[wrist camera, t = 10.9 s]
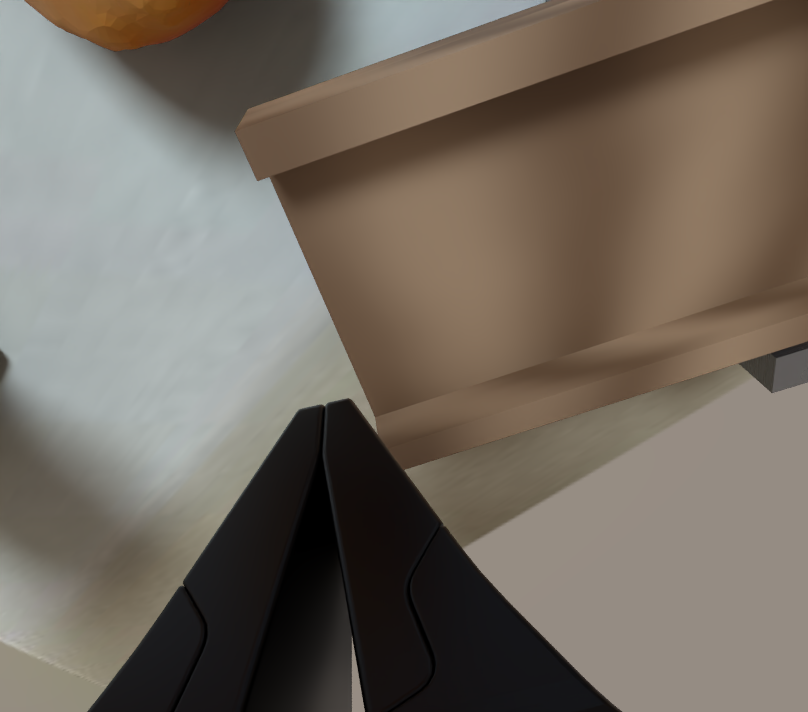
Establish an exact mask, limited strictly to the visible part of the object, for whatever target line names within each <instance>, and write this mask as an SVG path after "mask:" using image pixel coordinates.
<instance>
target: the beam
mask: <svg viewBox="0 0 808 712" xmlns="http://www.w3.org/2000/svg"><path fill="white" fill-rule="evenodd" d="M235 133H236V135H237V138H238V140H239V142H240V144H241V146H242V149H243V151H244V153H245V155H246V157H247V160H248V162H249V164H250V166H251V168H252V171H253V173H254V175H255V177H256V179H257V181H259V180H262V179H265V178H268V177H270V179H271V182H272V184H273V186H274V188H275V191H276V193H277V195H278V197H279V200H280V202H281V204H282V207H283V209H284V211H285V213H286V216H287V218H288V220H289V222H290V225H291V227H292V229H293V232H294V234H295V236H296V238H297V241H298V243H299V245H300V247H301V250H302V252H303V254H304V257H305V259H306V261H307V263H308V266H309V268H310V270H311V272H312V275H313V277H314V279H315V282H316V284H317V286H318V288H319V291H320V293H321V295H322V297H323V300H324V302H325V304H326V307H327V309H328V311H329V313H330V316H331V318H332V320H333V322H334V325H335V327H336V329H337V331H338V334H339V336H340V338H341V341H342V343H343V345H344V347H345V350H346V352H347V354H348V356H349V359H350V361H351V363H352V366H353V368H354V370H355V372H356V375H357V377H358V379H359V381H360V384H361V386H362V388H363V391H364V393H365V395H366V397H367V400H368V402H369V404H370V406H371V409H372V411H373V413H374V416H375V419H376V426H377V433H378V436H379V437H380V439H381V440H382V441H383V443H384V444H385V445H386V447H387V448H388V450H389V451H390V452H391V454H392V455H393V456H394V458H395V459H396V460H397V462H398V463H399V464H400V466H401V467H402V469H403V470H405V469H408V468H411V467H414V466H417V465H421V464H424V463H427V462H430V461H433V460H436V459H439V458H443V457H446V456H449V455H452V454H455V453H458V452H461V451H465V450H468V449H471V448H474V447H477V446H480V445H483V444H487V443H490V442H493V441H496V440H499V439H502V438H505V437H509V436H512V435H515V434H518V433H521V432H524V431H527V430H531V429H534V428H537V427H540V426H543V425H546V424H549V423H553V422H556V421H559V420H562V419H565V418H568V417H571V416H575V415H578V414H581V413H584V412H587V411H590V410H593V409H597V408H600V407H603V406H606V405H609V404H612V403H615V402H619V401H622V400H625V399H628V398H631V397H634V396H637V395H641V394H644V393H647V392H650V391H653V390H656V389H659V388H663V387H666V386H669V385H672V384H675V383H678V382H681V381H685V380H688V379H691V378H694V377H697V376H700V375H703V374H707V373H710V372H713V371H716V370H719V369H722V368H725V367H729V366H732V365H735V364H738V363H741V362H744V361H747V360H750V359H754V358H757V357H760V356H763V355H766V354H769V353H772V352H776V351H779V350H782V349H785V348H788V347H791V346H794V345H798V344H801V343H804V342H807V341H808V0H551V1H548V2H545V3H542V4H539V5H537V6H534V7H531V8H528V9H525V10H523V11H520V12H517V13H514V14H511V15H509V16H506V17H503V18H500V19H498V20H495V21H492V22H489V23H486V24H484V25H481V26H478V27H475V28H472V29H470V30H467V31H464V32H461V33H459V34H456V35H453V36H450V37H447V38H445V39H442V40H439V41H436V42H433V43H431V44H428V45H425V46H422V47H419V48H417V49H414V50H411V51H408V52H406V53H403V54H400V55H397V56H394V57H392V58H389V59H386V60H383V61H380V62H378V63H375V64H372V65H369V66H366V67H364V68H361V69H358V70H355V71H353V72H350V73H347V74H344V75H341V76H339V77H336V78H333V79H330V80H327V81H325V82H322V83H319V84H316V85H314V86H311V87H308V88H305V89H302V90H300V91H297V92H294V93H291V94H288V95H286V96H283V97H280V98H277V99H274V100H272V101H269V102H266V103H263V104H261V105H258V106H255V107H252V108H249V109H248V110H247V111H246V113H245V115H244V116H243V118H242V120H241V121H240V123H239V125H238V127H237V128H236V130H235Z"/></svg>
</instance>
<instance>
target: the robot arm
mask: <svg viewBox="0 0 808 712" xmlns="http://www.w3.org/2000/svg"><path fill="white" fill-rule="evenodd" d="M183 584H184V586H185V587H184V586H180V587H179V588H178V589H177V591H176V592H175V594H174V595H173V597H172V598H171V599H170V601H169V602H168V604H167V605H166V607H165V608H164V610H163V611H162V613H161V614H160V616H159V617H158V618H157V620H156V621H155V623H154V624H153V626H152V627H151V628H150V630H149V631H148V633H147V634H146V635H145V637H144V638H143V640H142V641H141V643H140V644H139V645H138V647H137V648H136V650H135V651H134V652H133V654H132V655H131V656H130V657H129V659H128V660H127V661H126V663H125V664H124V665H123V667H122V668H121V669H120V670H119V672H118V673H117V674H116V676H115V677H114V678H113V680H112V681H111V682H110V683H109V685H108V686H107V687H106V689H105V690H104V691H103V693H102V694H101V695H100V696H99V698H98V699H97V700H96V701H95V703H94V704H93V705H92V706H91V708H90V709H89V710H88V711H87V712H352V638H353V644H354V650H355V656H356V661H357V667H358V673H359V679H360V685H361V691H362V697H363V702H364V708H365V712H622V711H621V710H619V709H618V708H617V707H616V706H614V705H613V704H612V703H611V702H610V701H609V700H608V699H606V698H605V697H604V696H603V695H602V694H601V693H600V692H599V691H597V690H596V689H595V688H594V687H593V686H592V685H591V684H590V683H589V682H588V681H587V680H586V679H585V678H584V677H583V676H582V675H581V674H580V673H579V672H578V671H577V670H576V669H575V668H574V667H573V666H572V665H571V664H570V663H569V662H568V661H567V660H566V659H565V658H564V657H563V656H562V655H561V654H560V653H559V652H558V651H557V650H556V649H555V648H554V647H553V646H552V645H551V644H550V643H549V642H548V641H547V640H546V639H545V638H544V637H543V636H542V635H541V634H540V633H539V632H538V631H537V630H536V629H535V628H534V627H533V626H532V625H531V624H530V623H529V622H528V621H527V620H526V619H525V618H524V617H523V616H522V615H521V614H520V613H519V612H518V611H517V610H516V609H515V608H514V607H513V606H512V605H511V604H510V603H509V602H508V601H507V600H506V599H505V597H504V596H503V595H502V594H501V593H500V592H499V591H498V590H497V589H496V588H495V587H494V586H493V584H492V583H491V582H490V581H489V580H488V579H487V578H486V577H485V576H484V575H483V574H482V573H481V571H480V570H479V569H478V568H477V566H476V565H475V564H474V563H473V562H472V560H471V559H470V558H469V556H468V555H467V554H466V553H465V551H464V550H463V549H462V548H461V546H460V545H459V544H458V543H457V541H456V540H455V538H454V537H453V536H452V534H451V533H450V532H449V530H448V529H447V528H446V527H445V526H444V525H443V523H442V521H441V520H440V519H439V517H438V516H437V515H436V513H435V512H434V511H433V509H432V508H431V506H430V505H429V504H428V502H427V501H426V500H425V498H424V497H423V496H422V494H421V493H420V492H419V490H418V489H417V487H416V486H415V485H414V483H413V482H412V481H411V479H410V478H409V477H408V475H407V474H406V473H405V471H404V470H403V469H402V467H401V466H400V464H399V463H398V462H397V460H396V459H395V458H394V456H393V455H392V454H391V452H390V451H389V450H388V448H387V447H386V445H385V444H384V443H383V441H382V440H381V439H380V437H379V436H378V435H377V433H376V432H375V431H374V429H373V428H372V426H371V425H370V424H369V422H368V421H367V420H366V418H365V417H364V416H363V414H362V413H361V412H360V410H359V409H358V408H357V406H356V405H355V403H354V402H353V401H352V400H351V399H349V398H348V399H342V400H338V401H334V402H329V403H327V404H326V406H324V405H316V406H311V407H307V408H302V409H300V410H298V411H297V413H296V414H295V415H294V417H293V418H292V420H291V421H290V423H289V424H288V426H287V427H286V429H285V430H284V432H283V433H282V435H281V436H280V438H279V439H278V441H277V442H276V444H275V445H274V447H273V448H272V450H271V451H270V453H269V454H268V456H267V457H266V459H265V460H264V462H263V463H262V465H261V466H260V468H259V469H258V470H257V472H256V473H255V475H254V476H253V478H252V479H251V481H250V482H249V484H248V485H247V487H246V488H245V490H244V491H243V493H242V494H241V496H240V497H239V499H238V500H237V502H236V503H235V505H234V506H233V508H232V509H231V511H230V512H229V514H228V515H227V517H226V518H225V520H224V521H223V523H222V524H221V526H220V527H219V528H218V530H217V531H216V533H215V534H214V536H213V537H212V539H211V540H210V542H209V543H208V545H207V546H206V548H205V549H204V551H203V552H202V554H201V555H200V557H199V558H198V560H197V561H196V563H195V564H194V566H193V567H192V569H191V570H190V572H189V573H188V575H187V576H186V578H185V579H184V581H183Z"/></svg>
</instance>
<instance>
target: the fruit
mask: <svg viewBox="0 0 808 712" xmlns="http://www.w3.org/2000/svg"><path fill="white" fill-rule="evenodd" d="M24 1H26V2H27V3H28V4H29V5H30V6H32V7H33V8H34V9H35V10H37V11H38V12H39V13H40V14H41V15H43V16H44V17H45V18H46V19H48V20H49V21H50V22H52V23H53V24H54V25H56V26H57V27H59V28H62V29H64V30H65V31H67V32H69V33H72V34H74V35H77V36H79V37H81V38H84V39H87V40H89V41H91V42H93V43H95V44H97V45H99V46H101V47H104V48H107V49H110V50H113V51H121V50H125V49H129V50H133V49H138V48H140V47H143V46H147V45H153V44H160V43H164V42H168V41H170V40H173V39H175V38H177V37H179V36H181V35H183V34H185V33H187V32H188V31H190V30H192V29H194V28H195V27H197V26H198V25H200V24H201V23H203V22H204V21H206V20H207V19H209V18H210V17H211V16H213V15H214V14H216V13H217V12H218V11H219V10H221V8H222V7H223V6H224V5H225V4H226V3H227V2H228V1H229V0H24Z"/></svg>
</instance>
